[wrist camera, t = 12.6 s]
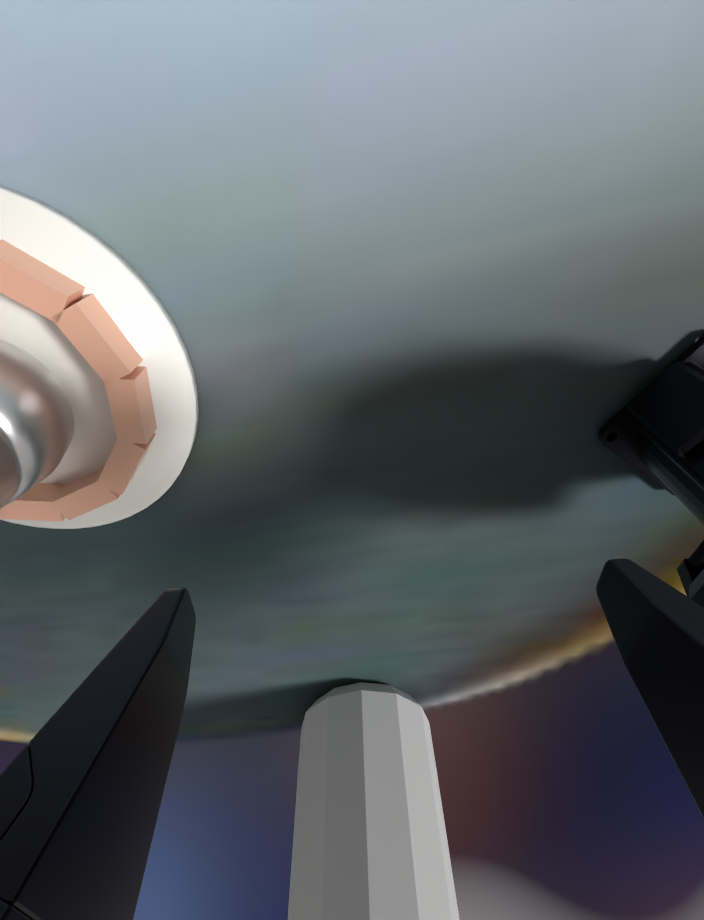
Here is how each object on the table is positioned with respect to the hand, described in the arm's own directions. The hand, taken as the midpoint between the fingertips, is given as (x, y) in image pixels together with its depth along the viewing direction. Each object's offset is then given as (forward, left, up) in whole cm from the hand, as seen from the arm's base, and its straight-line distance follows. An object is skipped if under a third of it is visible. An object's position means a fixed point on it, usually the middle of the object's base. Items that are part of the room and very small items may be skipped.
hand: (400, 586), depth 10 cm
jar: (-16, +24, -13) cm, 32 cm away
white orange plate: (+13, +10, -13) cm, 20 cm away
